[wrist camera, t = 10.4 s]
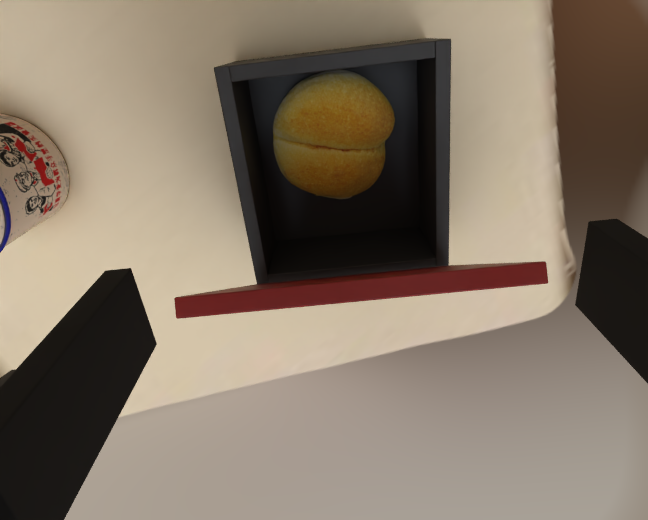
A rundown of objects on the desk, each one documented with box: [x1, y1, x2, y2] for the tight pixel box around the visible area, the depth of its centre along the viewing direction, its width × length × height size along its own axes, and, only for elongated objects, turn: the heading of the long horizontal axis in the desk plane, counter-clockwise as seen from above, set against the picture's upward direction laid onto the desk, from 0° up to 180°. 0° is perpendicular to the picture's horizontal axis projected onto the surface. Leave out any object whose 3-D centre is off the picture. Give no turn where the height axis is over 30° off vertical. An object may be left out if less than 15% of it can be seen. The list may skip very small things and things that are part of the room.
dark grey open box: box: [214, 38, 451, 284], centre depth 33 cm, size 15×14×7 cm
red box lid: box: [175, 262, 548, 318], centre depth 25 cm, size 16×14×1 cm
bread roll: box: [273, 69, 395, 199], centre depth 32 cm, size 8×9×4 cm
